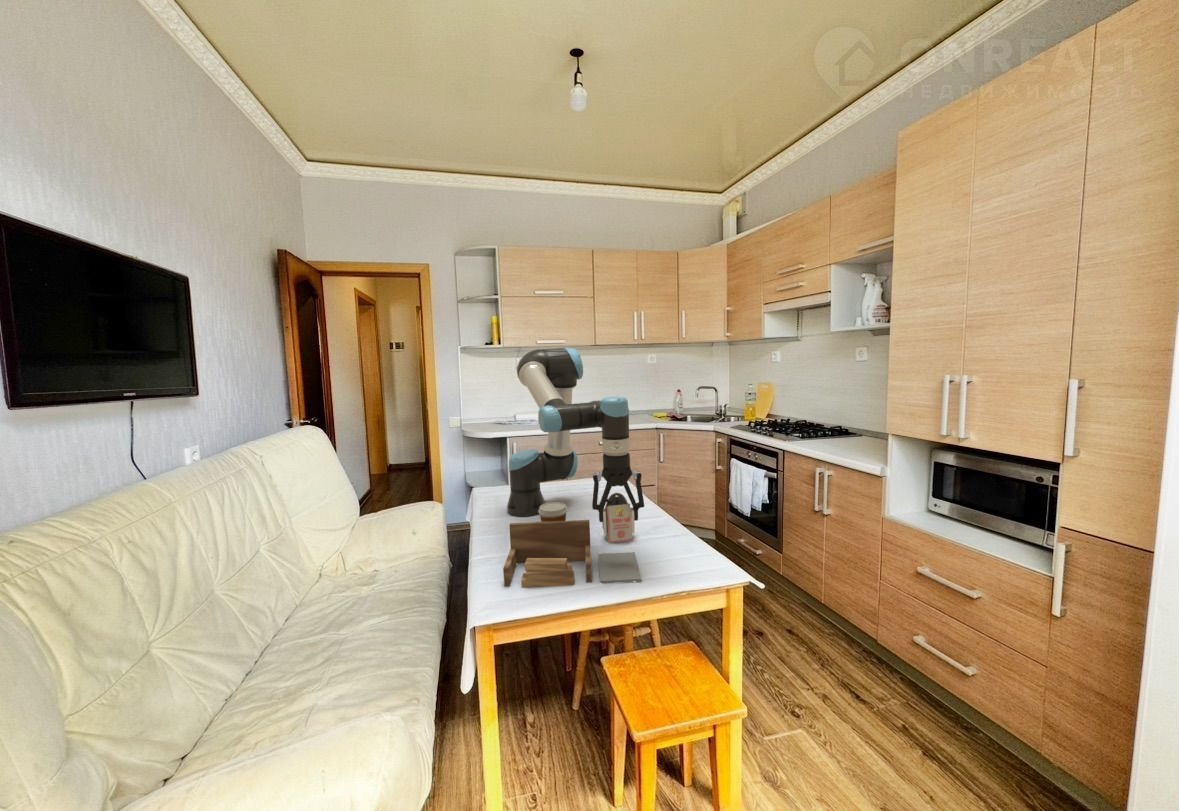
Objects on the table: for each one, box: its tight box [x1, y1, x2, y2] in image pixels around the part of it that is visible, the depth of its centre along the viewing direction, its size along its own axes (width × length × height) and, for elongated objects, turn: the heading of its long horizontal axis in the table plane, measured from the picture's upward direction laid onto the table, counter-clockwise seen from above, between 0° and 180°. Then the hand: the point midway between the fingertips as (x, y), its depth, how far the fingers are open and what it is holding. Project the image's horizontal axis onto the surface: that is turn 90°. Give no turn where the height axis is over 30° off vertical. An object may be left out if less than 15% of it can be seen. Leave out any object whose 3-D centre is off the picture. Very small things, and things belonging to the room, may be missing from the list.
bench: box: [502, 519, 593, 587], centre depth 126 cm, size 14×24×12 cm, turn 91°
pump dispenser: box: [604, 492, 629, 510], centre depth 147 cm, size 10×10×15 cm
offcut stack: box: [520, 558, 575, 588], centre depth 120 cm, size 5×14×6 cm, turn 91°
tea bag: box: [605, 503, 633, 544], centre depth 126 cm, size 4×7×10 cm, turn 99°
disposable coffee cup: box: [538, 501, 569, 522], centre depth 146 cm, size 10×10×12 cm
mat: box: [597, 551, 643, 584], centre depth 127 cm, size 16×11×1 cm
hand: (619, 531), depth 126 cm, fingers closed on tea bag, 7 cm apart
